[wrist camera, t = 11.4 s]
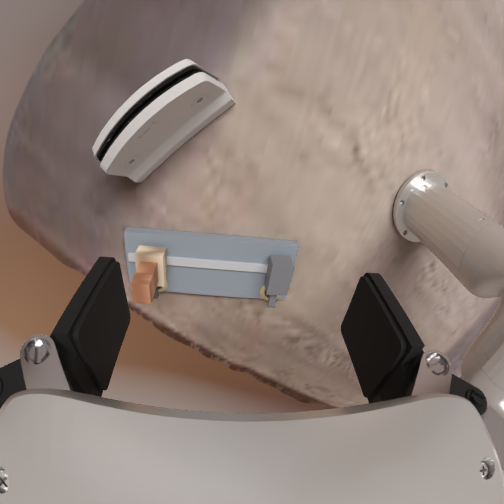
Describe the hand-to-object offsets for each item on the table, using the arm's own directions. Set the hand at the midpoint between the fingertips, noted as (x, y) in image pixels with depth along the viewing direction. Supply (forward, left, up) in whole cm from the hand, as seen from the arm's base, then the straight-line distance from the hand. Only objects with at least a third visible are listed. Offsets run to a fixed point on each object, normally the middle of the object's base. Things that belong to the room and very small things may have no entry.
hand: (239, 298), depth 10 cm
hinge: (+9, -4, -28) cm, 29 cm away
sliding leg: (+10, +17, -25) cm, 32 cm away
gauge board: (+2, +17, -27) cm, 32 cm away
